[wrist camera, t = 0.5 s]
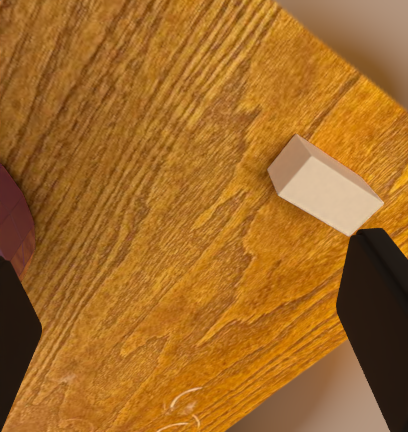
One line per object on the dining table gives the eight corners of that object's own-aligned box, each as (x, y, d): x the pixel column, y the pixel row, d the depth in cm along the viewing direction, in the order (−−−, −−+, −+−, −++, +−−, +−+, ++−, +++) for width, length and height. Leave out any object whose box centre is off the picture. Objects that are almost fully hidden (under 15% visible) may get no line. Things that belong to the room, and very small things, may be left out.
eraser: (266, 169, 24) (277, 195, 21) (295, 132, 22) (311, 155, 19) (330, 208, 26) (349, 237, 23) (361, 177, 24) (385, 203, 21)
